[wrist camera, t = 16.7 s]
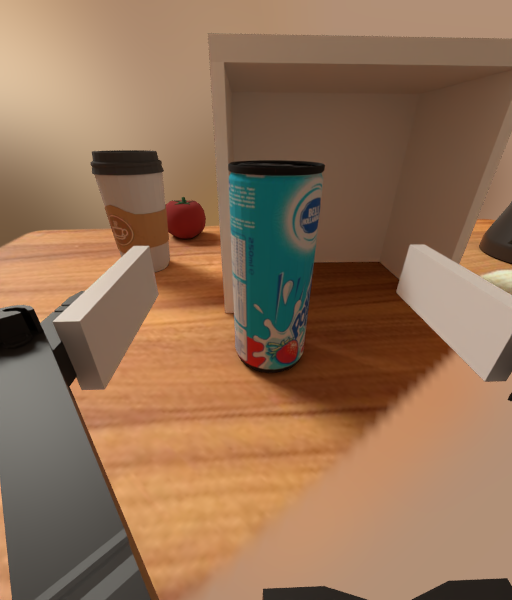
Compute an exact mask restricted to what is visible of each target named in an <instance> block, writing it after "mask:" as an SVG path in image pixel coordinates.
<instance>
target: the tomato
mask: <svg viewBox="0 0 512 600" xmlns="http://www.w3.org/2000/svg"><path fill="white" fill-rule="evenodd" d="M166 212H167V224H168V232H169V233H171V234H172V235H174V236H176V237H178V238H182V239H189V238H193V237H195V236H196V235H198V234H199V233H201V232H202V231H203V229H204V227H205V220H206V218H205V214H204V210H203V208H202V207H201V205H200V204H199V203H197V202H196V201H186V200H185V198H184V197H182V200H178V201H170V202H169V203H168V204H166Z"/></svg>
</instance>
